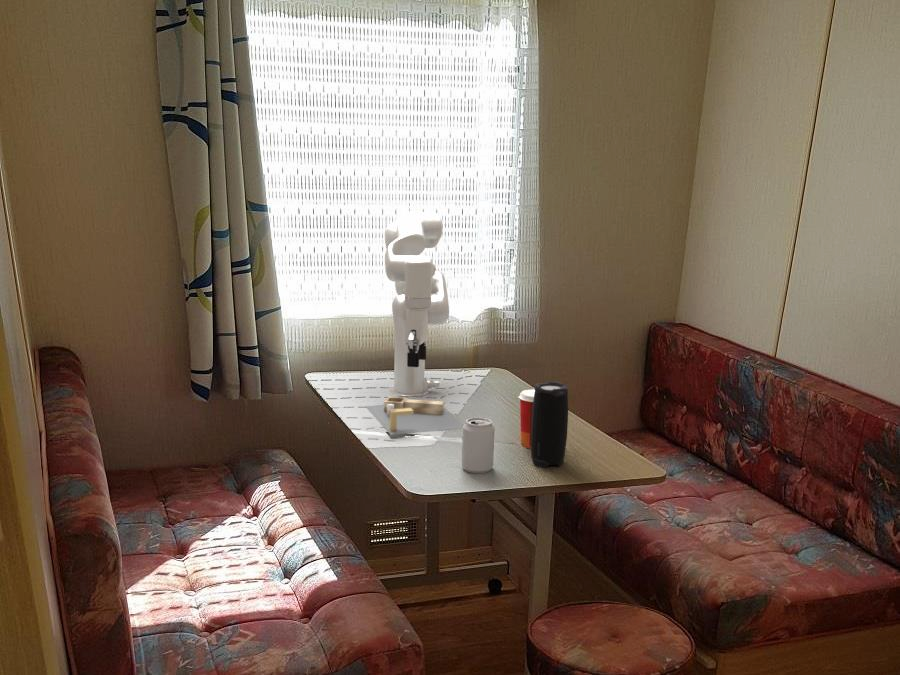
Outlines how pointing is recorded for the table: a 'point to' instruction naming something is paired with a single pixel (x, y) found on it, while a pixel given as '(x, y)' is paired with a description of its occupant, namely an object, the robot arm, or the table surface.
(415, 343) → the robot arm
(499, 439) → the table surface
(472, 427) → the can
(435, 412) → the wooden link
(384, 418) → the slate base
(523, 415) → the paper cup
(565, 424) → the portable speaker
